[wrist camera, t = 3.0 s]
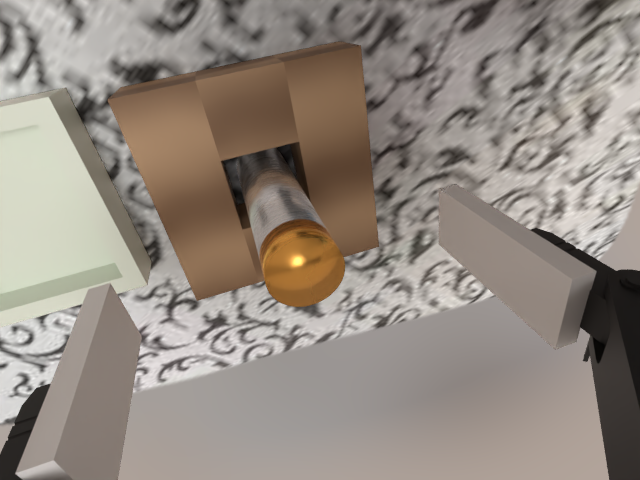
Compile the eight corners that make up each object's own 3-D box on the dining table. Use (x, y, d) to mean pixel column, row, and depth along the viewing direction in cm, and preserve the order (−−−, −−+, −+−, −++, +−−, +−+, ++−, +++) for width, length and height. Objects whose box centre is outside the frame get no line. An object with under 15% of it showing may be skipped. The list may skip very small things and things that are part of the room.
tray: (-185, 139, 18) (-238, 156, 15) (65, 87, 19) (48, 96, 17) (-30, 312, 23) (-53, 342, 21) (151, 262, 25) (147, 285, 23)
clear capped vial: (230, 149, 23) (255, 252, 13) (278, 137, 23) (339, 228, 13) (243, 193, 24) (275, 316, 15) (288, 182, 25) (349, 292, 15)
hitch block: (120, 87, 20) (107, 99, 17) (338, 41, 22) (360, 45, 19) (197, 269, 26) (197, 300, 23) (360, 222, 28) (378, 246, 25)
